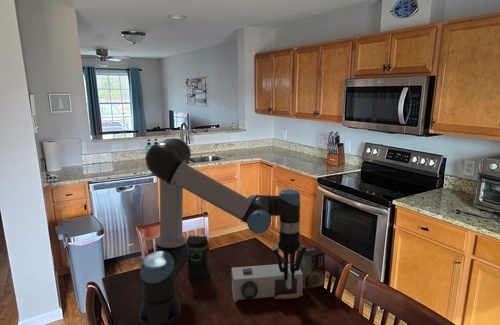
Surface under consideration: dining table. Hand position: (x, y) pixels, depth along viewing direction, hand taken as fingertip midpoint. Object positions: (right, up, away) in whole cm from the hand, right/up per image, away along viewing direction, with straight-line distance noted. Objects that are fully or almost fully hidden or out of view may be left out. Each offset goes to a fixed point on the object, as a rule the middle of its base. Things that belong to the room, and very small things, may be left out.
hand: (288, 286), depth 130 cm
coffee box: (+11, -5, +14) cm, 18 cm away
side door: (-1, -5, +4) cm, 7 cm away
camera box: (-8, -6, +8) cm, 13 cm away
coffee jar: (-39, -3, +22) cm, 45 cm away
